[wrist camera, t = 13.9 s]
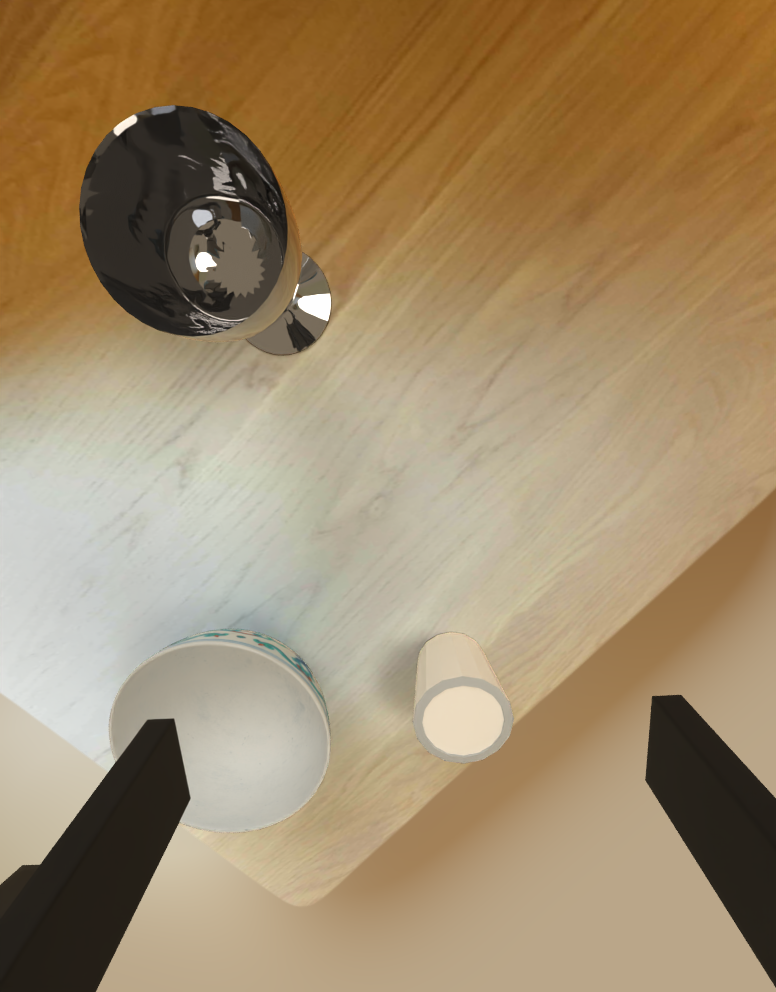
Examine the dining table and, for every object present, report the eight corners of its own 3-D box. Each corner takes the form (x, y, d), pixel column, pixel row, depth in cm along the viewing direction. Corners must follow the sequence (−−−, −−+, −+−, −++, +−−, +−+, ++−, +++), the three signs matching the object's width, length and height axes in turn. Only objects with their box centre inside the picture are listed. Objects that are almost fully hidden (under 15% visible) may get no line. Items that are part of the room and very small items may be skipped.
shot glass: (426, 614, 37) (434, 664, 30) (505, 640, 38) (530, 695, 31) (398, 684, 39) (398, 747, 32) (474, 709, 39) (491, 776, 32)
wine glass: (229, 228, 31) (81, 84, 16) (345, 250, 31) (301, 127, 17) (218, 349, 33) (75, 317, 18) (328, 370, 33) (275, 354, 18)
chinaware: (285, 778, 41) (260, 866, 33) (134, 695, 39) (71, 768, 32) (377, 652, 38) (372, 717, 30) (217, 557, 36) (171, 600, 29)
